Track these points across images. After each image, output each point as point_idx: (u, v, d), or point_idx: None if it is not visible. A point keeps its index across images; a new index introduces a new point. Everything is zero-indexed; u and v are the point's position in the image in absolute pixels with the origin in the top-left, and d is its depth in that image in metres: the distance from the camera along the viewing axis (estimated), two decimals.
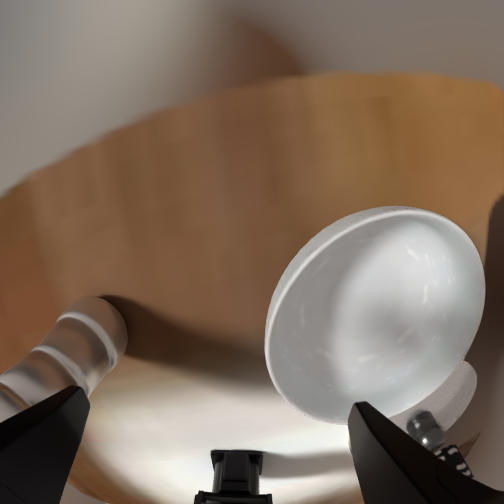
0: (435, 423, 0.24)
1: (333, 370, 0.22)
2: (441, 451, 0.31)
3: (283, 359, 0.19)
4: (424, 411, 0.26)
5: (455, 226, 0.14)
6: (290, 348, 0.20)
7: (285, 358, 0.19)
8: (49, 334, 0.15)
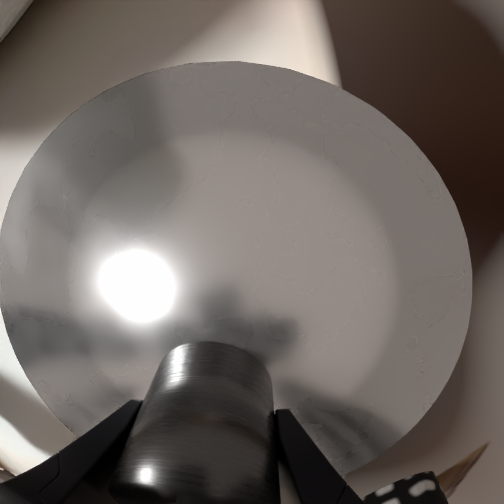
0: (223, 401, 0.06)
1: None
2: (393, 487, 0.13)
3: None
4: (202, 338, 0.08)
5: None
6: None
7: None
8: None
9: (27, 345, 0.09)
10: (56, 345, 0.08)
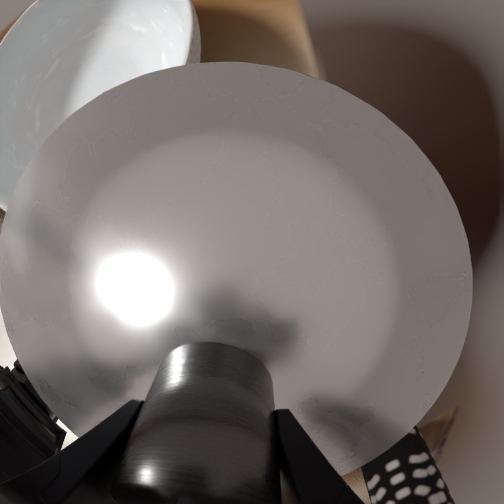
0: (224, 402, 0.06)
1: None
2: None
3: (4, 150, 0.13)
4: (203, 338, 0.08)
5: None
6: (20, 147, 0.14)
7: (8, 152, 0.13)
8: None
9: (27, 345, 0.09)
10: (57, 345, 0.08)
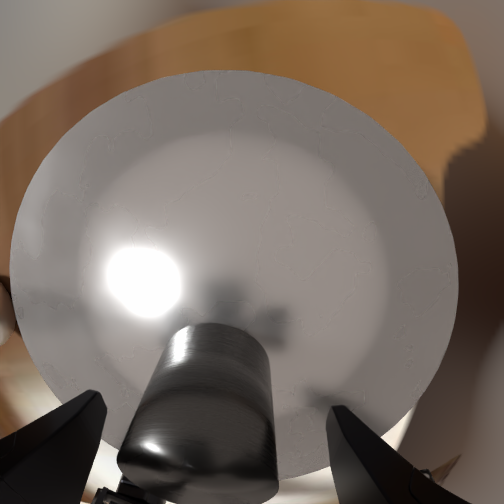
0: (226, 374, 0.07)
1: None
2: None
3: None
4: (207, 319, 0.09)
5: None
6: None
7: None
8: None
9: (35, 329, 0.09)
10: (66, 328, 0.09)
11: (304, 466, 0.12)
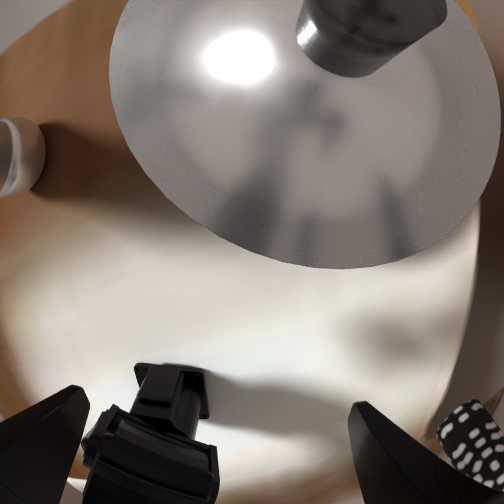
0: None
1: None
2: (462, 407, 0.25)
3: None
4: None
5: None
6: None
7: None
8: None
9: (142, 27, 0.08)
10: (191, 13, 0.08)
11: (429, 222, 0.11)
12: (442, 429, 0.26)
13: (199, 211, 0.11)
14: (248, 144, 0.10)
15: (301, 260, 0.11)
